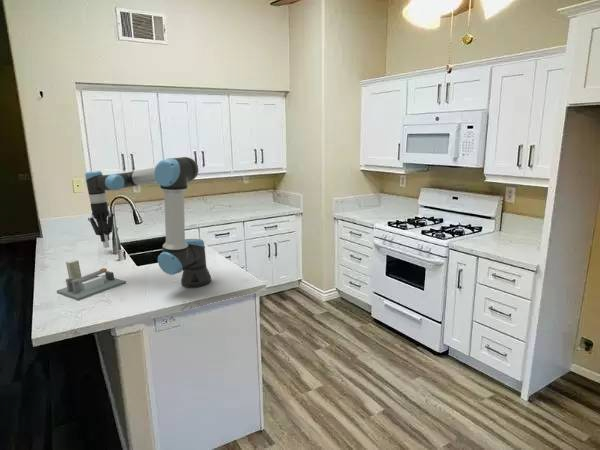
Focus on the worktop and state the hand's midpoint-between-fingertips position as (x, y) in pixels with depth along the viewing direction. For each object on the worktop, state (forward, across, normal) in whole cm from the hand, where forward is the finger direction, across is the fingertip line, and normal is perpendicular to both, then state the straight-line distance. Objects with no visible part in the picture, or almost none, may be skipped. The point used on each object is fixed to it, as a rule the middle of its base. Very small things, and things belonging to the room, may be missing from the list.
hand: (106, 247), depth 201 cm
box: (+19, +6, -24) cm, 31 cm away
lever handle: (+14, +9, -4) cm, 17 cm away
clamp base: (+20, +9, -4) cm, 22 cm away
